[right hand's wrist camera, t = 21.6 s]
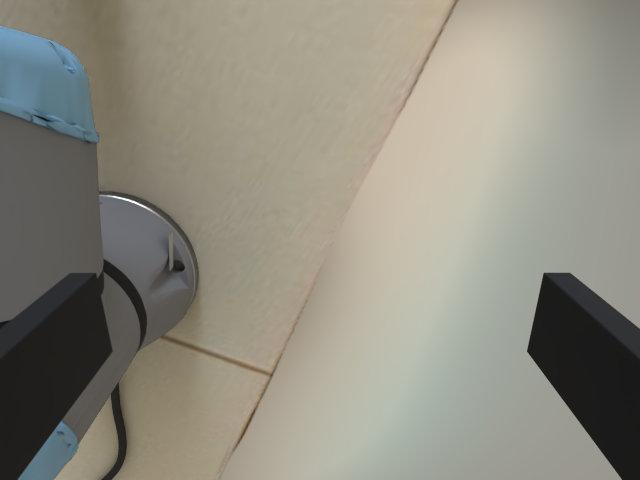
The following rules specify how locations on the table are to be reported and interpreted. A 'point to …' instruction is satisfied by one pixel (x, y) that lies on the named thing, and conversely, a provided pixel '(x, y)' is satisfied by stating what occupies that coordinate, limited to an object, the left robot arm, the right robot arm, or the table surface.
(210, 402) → the table surface
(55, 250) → the right robot arm
